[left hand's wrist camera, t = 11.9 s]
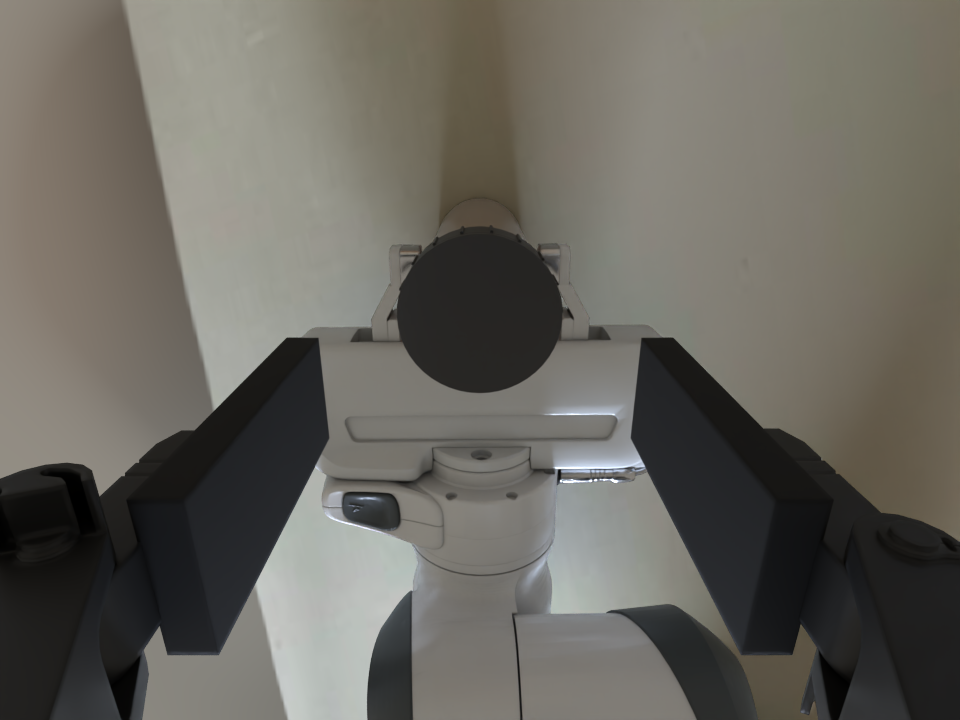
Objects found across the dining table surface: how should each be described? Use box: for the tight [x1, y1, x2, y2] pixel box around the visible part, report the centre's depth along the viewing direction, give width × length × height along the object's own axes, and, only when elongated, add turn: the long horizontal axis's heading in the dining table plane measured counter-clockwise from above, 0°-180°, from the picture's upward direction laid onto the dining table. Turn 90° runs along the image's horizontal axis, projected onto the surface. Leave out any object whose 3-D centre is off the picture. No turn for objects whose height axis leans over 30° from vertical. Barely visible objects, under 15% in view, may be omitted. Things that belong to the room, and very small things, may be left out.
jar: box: [433, 198, 527, 242], centre depth 27 cm, size 5×5×16 cm
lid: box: [397, 225, 563, 393], centre depth 20 cm, size 6×6×2 cm
